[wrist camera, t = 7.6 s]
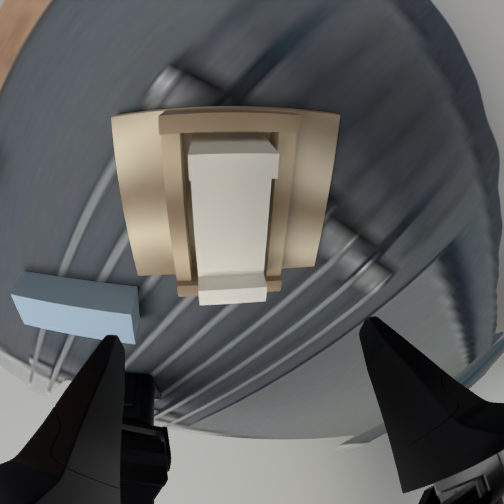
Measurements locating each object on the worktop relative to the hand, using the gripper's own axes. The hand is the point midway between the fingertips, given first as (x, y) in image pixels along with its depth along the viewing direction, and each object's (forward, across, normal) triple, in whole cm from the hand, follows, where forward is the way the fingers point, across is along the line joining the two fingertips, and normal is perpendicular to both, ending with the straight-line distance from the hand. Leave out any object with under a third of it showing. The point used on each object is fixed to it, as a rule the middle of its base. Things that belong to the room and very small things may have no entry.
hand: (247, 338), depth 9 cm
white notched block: (+11, 0, 0) cm, 11 cm away
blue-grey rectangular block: (+12, +14, +9) cm, 21 cm away
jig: (+12, 0, 0) cm, 12 cm away
